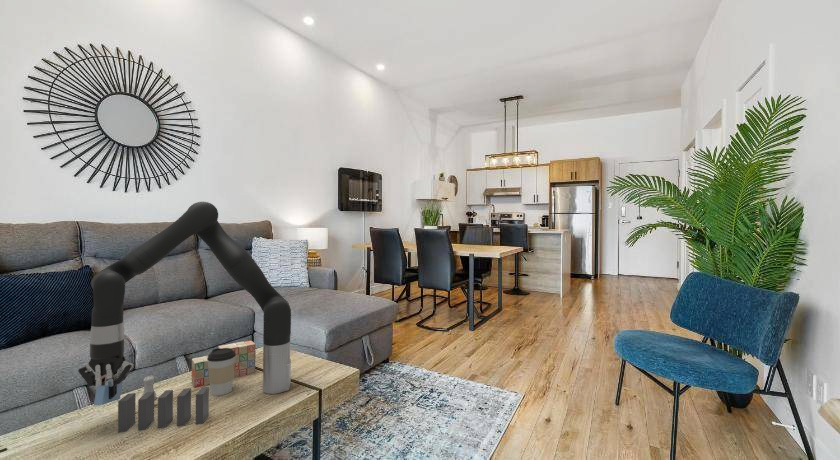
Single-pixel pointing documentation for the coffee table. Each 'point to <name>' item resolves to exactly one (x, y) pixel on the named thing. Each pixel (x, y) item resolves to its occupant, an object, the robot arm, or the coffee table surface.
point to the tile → (106, 394)
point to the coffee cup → (221, 370)
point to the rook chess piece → (149, 385)
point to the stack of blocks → (242, 363)
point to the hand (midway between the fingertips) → (106, 398)
